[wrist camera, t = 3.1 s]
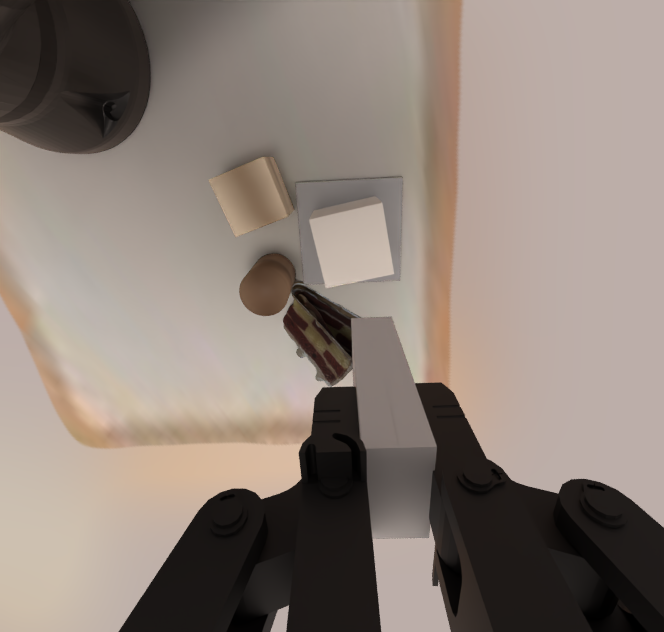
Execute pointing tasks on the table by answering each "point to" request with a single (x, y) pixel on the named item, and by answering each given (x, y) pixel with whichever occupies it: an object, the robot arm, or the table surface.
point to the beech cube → (252, 195)
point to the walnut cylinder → (268, 285)
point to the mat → (343, 192)
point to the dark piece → (321, 333)
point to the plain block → (352, 242)
